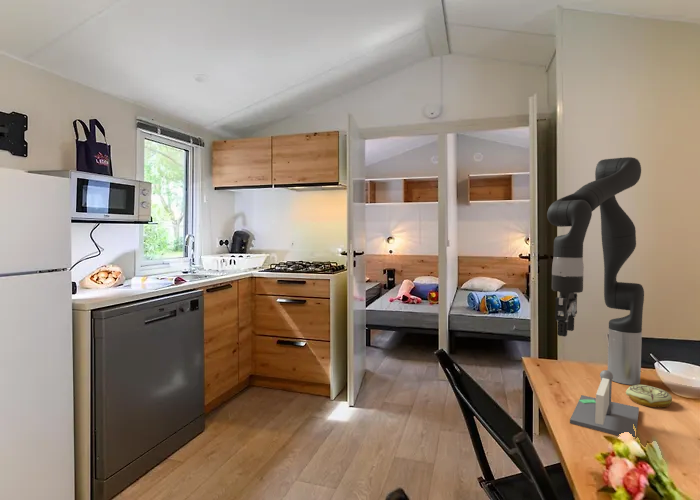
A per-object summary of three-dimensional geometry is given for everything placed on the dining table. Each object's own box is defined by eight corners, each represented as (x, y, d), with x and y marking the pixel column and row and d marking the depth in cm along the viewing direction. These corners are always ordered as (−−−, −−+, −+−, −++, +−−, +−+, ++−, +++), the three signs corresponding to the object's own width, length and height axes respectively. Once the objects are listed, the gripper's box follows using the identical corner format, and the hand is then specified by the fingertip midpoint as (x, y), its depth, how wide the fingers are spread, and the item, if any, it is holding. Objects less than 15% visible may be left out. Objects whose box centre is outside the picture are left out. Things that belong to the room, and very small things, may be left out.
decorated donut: (618, 397, 120) (618, 385, 120) (642, 392, 124) (642, 380, 124) (655, 412, 111) (655, 398, 111) (679, 406, 115) (680, 393, 114)
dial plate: (581, 398, 119) (581, 394, 119) (638, 411, 111) (638, 406, 111) (569, 423, 104) (569, 418, 104) (635, 440, 95) (635, 435, 95)
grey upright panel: (602, 400, 115) (603, 361, 115) (614, 402, 113) (616, 363, 113) (591, 433, 96) (592, 386, 95) (606, 437, 94) (607, 389, 94)
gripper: (558, 271, 116) (557, 326, 116) (545, 274, 105) (544, 335, 105) (588, 273, 111) (586, 330, 111) (577, 276, 100) (576, 340, 100)
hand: (565, 333), depth 108 cm, fingers open, 8 cm apart
